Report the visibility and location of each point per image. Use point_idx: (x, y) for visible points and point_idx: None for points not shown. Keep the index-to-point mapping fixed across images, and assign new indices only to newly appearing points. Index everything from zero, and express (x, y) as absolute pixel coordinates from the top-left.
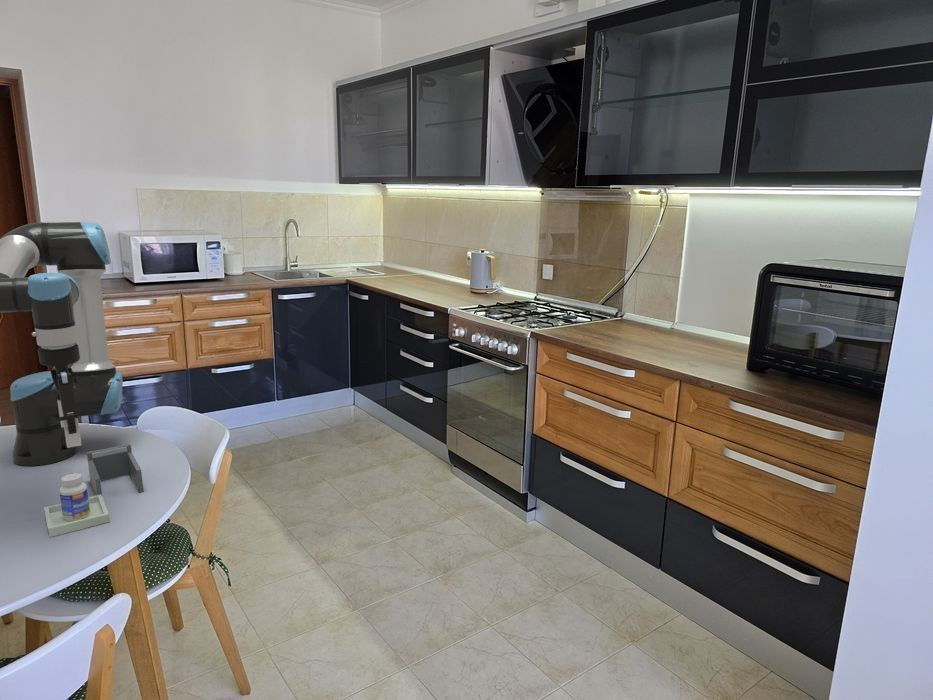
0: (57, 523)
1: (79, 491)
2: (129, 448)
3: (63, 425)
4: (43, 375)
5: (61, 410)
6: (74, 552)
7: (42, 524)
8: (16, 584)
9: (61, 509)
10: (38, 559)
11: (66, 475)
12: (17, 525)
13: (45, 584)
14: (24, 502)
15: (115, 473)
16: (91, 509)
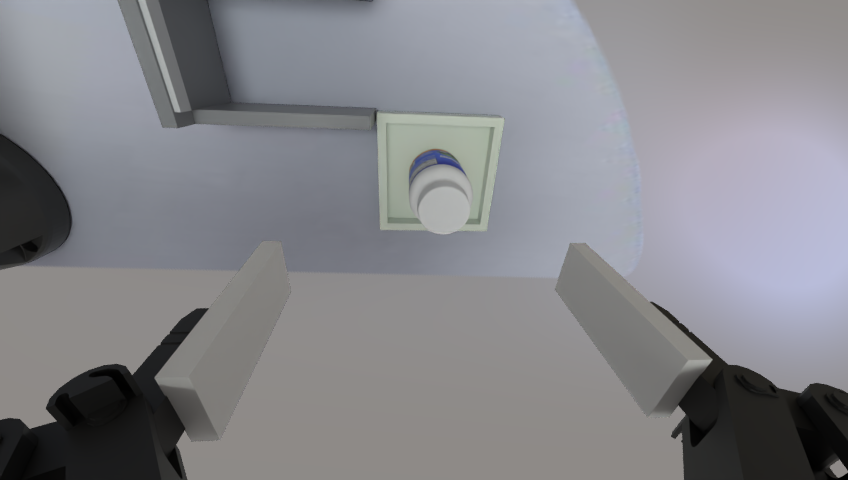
0: None
1: (471, 187)
2: None
3: (286, 289)
4: None
5: (250, 357)
6: (571, 194)
7: None
8: None
9: (388, 197)
10: (548, 242)
11: (425, 221)
12: (397, 261)
13: (632, 239)
14: (295, 248)
15: (209, 39)
16: (420, 142)
